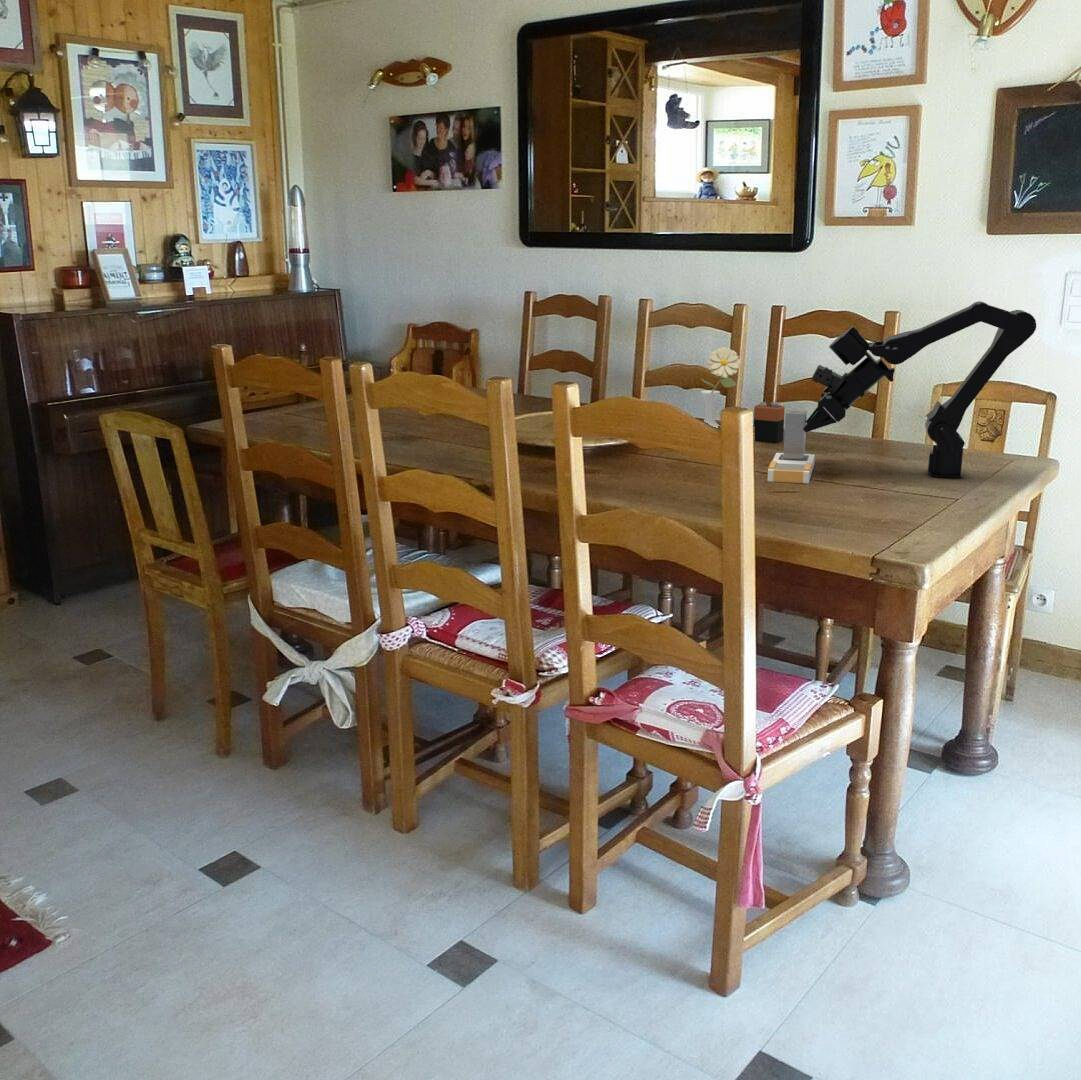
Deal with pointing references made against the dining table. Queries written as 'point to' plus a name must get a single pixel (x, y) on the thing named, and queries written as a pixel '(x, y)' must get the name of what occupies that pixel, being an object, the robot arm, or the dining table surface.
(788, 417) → the metal peg
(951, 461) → the robot arm
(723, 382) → the flower in vase
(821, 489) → the dining table surface
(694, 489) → the dining table surface
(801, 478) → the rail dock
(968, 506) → the dining table surface
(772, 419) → the battery
